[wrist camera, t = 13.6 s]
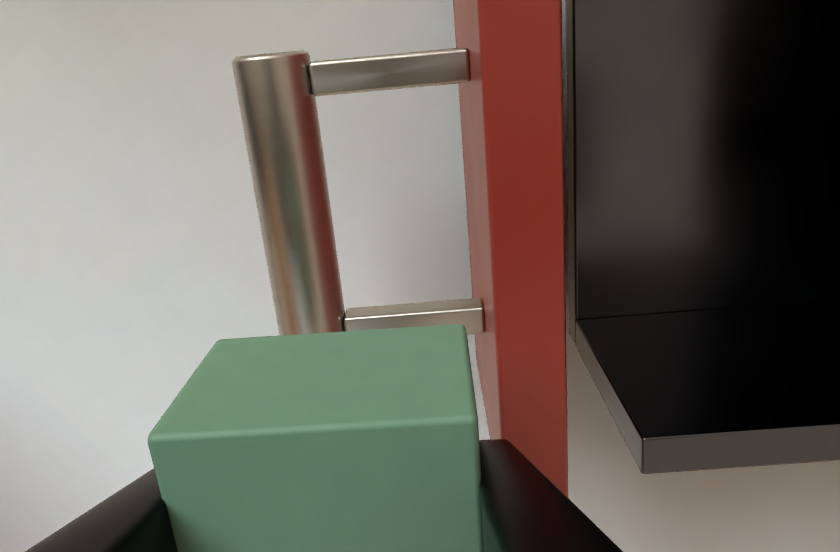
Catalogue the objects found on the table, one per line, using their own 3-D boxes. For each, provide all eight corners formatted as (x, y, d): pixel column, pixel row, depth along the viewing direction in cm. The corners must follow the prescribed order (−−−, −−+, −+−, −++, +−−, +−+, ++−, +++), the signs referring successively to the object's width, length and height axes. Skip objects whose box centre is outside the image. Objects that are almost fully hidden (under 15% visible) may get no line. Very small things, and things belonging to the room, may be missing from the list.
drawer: (329, 372, 19) (279, 544, 12) (262, -72, 15) (139, -165, 8) (957, 324, 18) (1253, 477, 12) (1055, -152, 14) (1576, -315, 8)
